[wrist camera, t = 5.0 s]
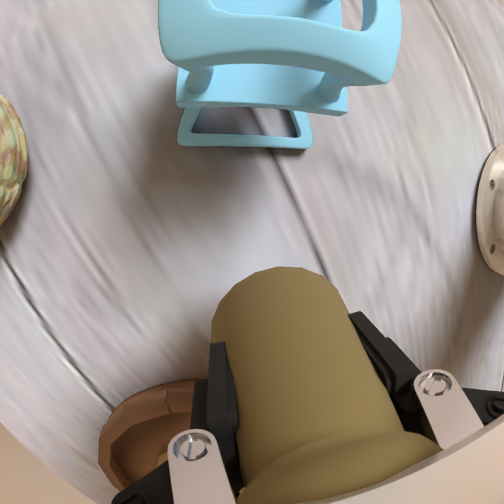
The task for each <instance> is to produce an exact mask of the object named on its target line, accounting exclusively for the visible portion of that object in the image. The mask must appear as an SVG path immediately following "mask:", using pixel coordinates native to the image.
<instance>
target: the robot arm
mask: <svg viewBox="0 0 504 504" xmlns="http://www.w3.org/2000/svg"><path fill="white" fill-rule="evenodd" d="M476 227H477V236H478V241H479V246H480V250H481V253H482V255H483V258H484V260H485V262H486V263H487V265H488V266H489V267H490V268H491V269H492V270H493V271H495V272H497V273H499V274H501V275H504V143H503V144H501V145H499V146H498V147H497V148H496V149H495V150H494V151H493V152H492V153H491V155H490V156H489V158H488V159H487V162H486V164H485V167H484V169H483V172H482V175H481V179H480V183H479V189H478V195H477V206H476ZM348 316H349V318H350V320H351V321H352V323H353V325H354V328H355V330H356V332H357V335H358V337H359V339H360V342H361V344H362V345H363V347H364V349H365V351H366V352H367V354H368V356H369V358H370V360H371V361H372V363H373V365H374V367H375V369H376V370H377V372H378V374H379V376H380V378H381V379H382V382H383V384H384V386H385V388H386V390H387V392H388V395H389V397H390V399H391V401H392V403H393V406H394V408H395V410H396V412H397V415H398V417H399V419H400V422H401V424H402V426H403V429H404V431H406V432H412V433H417V434H420V435H422V436H424V437H426V438H428V439H430V440H432V441H433V442H435V443H436V444H437V445H439V446H440V447H441V448H443V449H444V450H443V451H441V452H439V453H437V454H435V455H433V456H431V457H429V458H427V459H425V460H423V461H421V462H419V463H417V464H414V465H412V466H411V467H409V468H407V469H405V470H403V471H401V472H399V473H398V474H396V475H394V476H392V477H390V478H388V479H386V480H384V481H382V482H379V483H377V484H374V485H371V486H368V487H365V488H362V489H359V490H355V491H352V492H349V493H345V494H342V495H338V496H334V497H331V498H327V499H321V500H314V501H306V502H300V503H295V504H504V392H499V391H488V390H478V389H469V388H461V387H460V385H459V384H458V382H457V380H456V379H455V377H454V376H453V375H452V374H451V373H449V372H447V371H444V370H441V369H432V370H427V371H424V372H421V371H420V370H419V369H418V368H417V367H416V366H415V365H414V364H413V362H412V361H411V360H410V359H409V358H408V357H407V356H406V355H405V354H404V353H403V351H402V350H401V349H400V348H399V347H398V346H397V345H396V344H395V343H394V342H393V341H392V340H391V339H390V338H388V337H386V338H385V337H384V336H383V335H382V334H381V332H380V331H379V330H378V329H377V328H376V327H375V326H374V325H373V324H372V323H371V321H370V320H369V319H368V318H367V317H366V316H365V315H364V314H363V313H362V312H361V311H359V312H355V313H351V314H348ZM238 427H239V422H238V414H237V405H236V396H235V387H234V378H233V375H232V372H231V368H230V365H229V362H228V359H227V356H226V348H225V342H224V341H223V342H217V343H211V345H210V360H209V376H208V379H202V380H196V381H195V384H194V393H193V402H192V411H191V421H190V430H186V431H183V432H181V433H179V434H178V435H176V436H175V437H174V438H173V439H172V440H171V441H170V443H169V445H168V460H167V461H165V462H164V463H162V464H161V465H160V466H158V467H157V468H155V469H154V470H152V471H151V472H149V473H148V474H147V475H145V476H144V477H142V478H141V479H139V480H138V481H136V482H135V483H133V484H132V485H130V486H129V487H127V488H125V489H124V490H122V491H121V492H119V493H118V494H117V495H116V496H115V497H114V499H113V500H112V504H236V501H235V500H236V499H237V497H238V496H239V495H240V494H241V493H240V490H241V489H242V488H243V487H245V486H244V482H243V478H242V475H241V471H240V467H239V460H238V454H237V447H236V441H235V436H236V431H237V429H238Z"/></svg>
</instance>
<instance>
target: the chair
mask: <svg viewBox="0 0 504 504" xmlns="http://www.w3.org/2000/svg"><path fill="white" fill-rule="evenodd" d="M362 2H363V22H362V28H361V31H360V32H358V31H353V30H348V29H343V28H342V14H341V3H340V0H158V28H159V38H160V45H161V48H162V52H163V54H164V56H165V58H166V59H167V60H168V61H170V62H171V63H173V64H175V65H177V66H178V73H177V86H176V104H177V106H178V108H184V107H186V108H185V110H184V113H183V116H182V118H181V121H180V125H179V128H178V132H177V141H178V143H179V144H180V145H182V146H243V147H272V148H291V149H308V148H310V147H312V145H313V134H312V130H311V125H310V122H309V118H308V115H307V112H308V113H317V114H325V115H332V116H341V115H343V114H345V113H348V108H347V86H368V85H379V84H386V83H388V82H389V81H390V80H391V78H392V76H393V72H394V69H395V65H396V61H397V56H398V51H399V46H400V40H401V31H402V14H401V8H400V3H399V0H362ZM202 107H258V108H274V109H285V110H289V113H290V115H291V118H292V120H293V123H294V126H295V129H296V131H297V138H289V137H276V136H261V135H240V134H195V133H192V132H191V130H192V128H193V125H194V123H195V121H196V119H197V116H198V114H199V112H200V110H201V108H202Z"/></svg>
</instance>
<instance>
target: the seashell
mask: <svg viewBox="0 0 504 504" xmlns="http://www.w3.org/2000/svg"><path fill="white" fill-rule="evenodd" d="M28 161H29V159H28V146H27V141H26V136H25V133H24V130H23V127H22V123H21V121H20V118H19V117H18V115H17V113H16V111H15V109H14V108H13V106H12V105H11V103H10V102H9V101H8V100H7V99H6V98H5V97H4V96H3V95H1V94H0V226H1V224H2V223H3V222H4V221H5V219H6V218H7V217H8V216H9V214H10V213H11V212H12V210H13V208H14V206H15V204H16V202H17V200H18V198H19V196H20V193H21V189H22V182H23V180H24V179H25V178H26V173H27V168H28Z"/></svg>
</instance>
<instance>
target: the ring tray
mask: <svg viewBox="0 0 504 504" xmlns="http://www.w3.org/2000/svg"><path fill="white" fill-rule="evenodd" d="M196 380H202V379H194V380H183V381H176V382H171V383H165V384H161V385H158V386H154V387H151V388H148V389H145V390H143V391H141V392H138V393H136V394H134V395H133V396H131V397H129V398H128V399H126V400H124V401H123V402H122V403H121V404H120V405H119V406H118V407H117V408H116V409H115V410H114V411H113V413H112V414H111V415H110V417H109V420H108V422H107V423H106V424H105V425H104V426H103V429H102V432H101V435H100V438H99V459H98V463H99V465H100V467H101V468H102V470H103V471H104V473H105V474H106V476H107V477H108V479H109V480H110V482H111V483H112V485H113V486H114V487H115V488H117V489H118V490H119V491H122V490H124V489H125V488H127V487H129V486H130V485H132V484H133V483H135V482H136V481H138V480H139V479H141V478H142V477H144V476H145V475H147V474H148V473H149V472H151V471H152V470H154V469H155V468H157V467H158V466H160V465H161V464H162V463H164V462H165V461H167V460H168V445H169V443H170V441H171V440H172V439H173V438H174V437H175V436H176V435H178V434H179V433H181V432H183V431H186V430H190V421H191V411H192V402H193V393H194V384H195V381H196ZM244 489H245V487H243V488H242V489H241V490H240V493H242V492H243V490H244Z"/></svg>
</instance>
